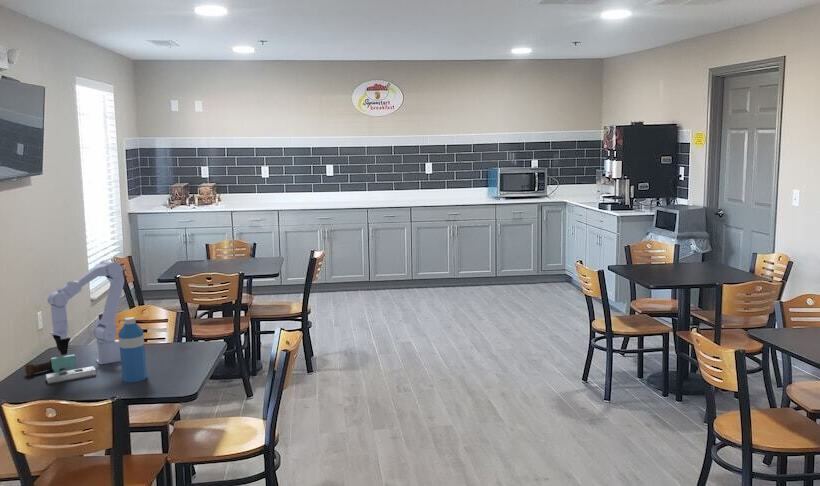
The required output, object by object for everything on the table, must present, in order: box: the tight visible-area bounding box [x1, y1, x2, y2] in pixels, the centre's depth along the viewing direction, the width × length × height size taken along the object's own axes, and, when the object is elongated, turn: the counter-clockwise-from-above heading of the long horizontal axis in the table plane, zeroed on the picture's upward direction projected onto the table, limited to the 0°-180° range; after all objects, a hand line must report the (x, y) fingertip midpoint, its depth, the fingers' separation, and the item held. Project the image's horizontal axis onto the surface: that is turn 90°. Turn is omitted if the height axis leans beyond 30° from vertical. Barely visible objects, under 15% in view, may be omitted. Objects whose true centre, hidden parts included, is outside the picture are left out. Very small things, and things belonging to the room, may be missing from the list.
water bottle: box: [117, 316, 148, 383], centre depth 307 cm, size 9×9×25 cm
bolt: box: [25, 359, 54, 377], centre depth 323 cm, size 6×5×15 cm
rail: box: [45, 365, 97, 385], centre depth 313 cm, size 18×6×2 cm, turn 122°
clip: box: [50, 353, 77, 373], centre depth 321 cm, size 9×2×6 cm, turn 122°
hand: (62, 352), depth 321 cm, fingers open, 7 cm apart
